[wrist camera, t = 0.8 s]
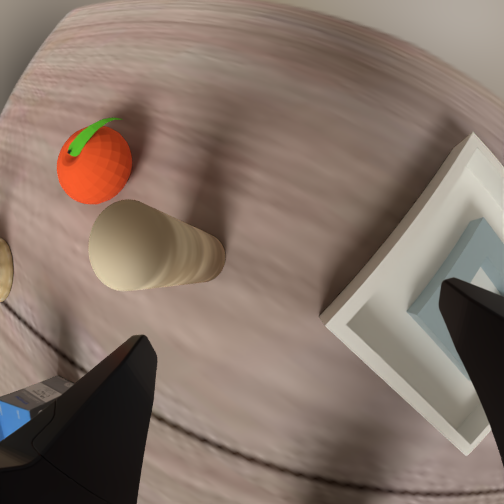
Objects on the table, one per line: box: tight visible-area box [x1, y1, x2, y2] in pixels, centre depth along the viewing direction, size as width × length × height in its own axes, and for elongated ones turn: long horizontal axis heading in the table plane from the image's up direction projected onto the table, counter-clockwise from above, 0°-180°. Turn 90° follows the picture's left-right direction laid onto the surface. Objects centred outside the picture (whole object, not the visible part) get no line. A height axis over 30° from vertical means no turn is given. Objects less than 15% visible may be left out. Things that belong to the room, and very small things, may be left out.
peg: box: [88, 200, 225, 291], centre depth 18 cm, size 4×4×12 cm
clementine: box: [57, 118, 132, 204], centre depth 22 cm, size 8×7×7 cm
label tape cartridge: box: [0, 376, 75, 441], centre depth 19 cm, size 9×4×12 cm, turn 171°
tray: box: [319, 132, 504, 457], centre depth 19 cm, size 20×20×4 cm
